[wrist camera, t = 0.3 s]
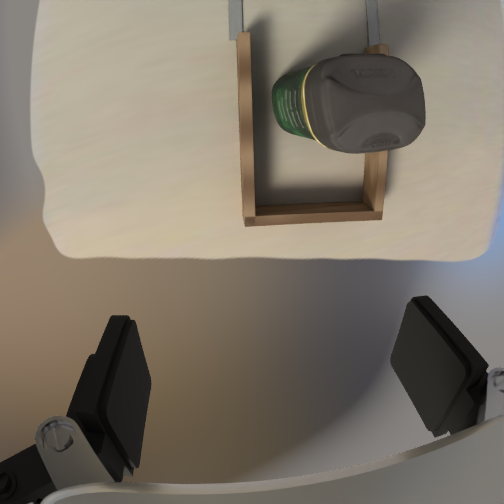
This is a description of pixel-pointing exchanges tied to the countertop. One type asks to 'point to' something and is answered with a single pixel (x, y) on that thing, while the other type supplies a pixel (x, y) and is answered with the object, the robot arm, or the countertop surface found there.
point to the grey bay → (236, 20)
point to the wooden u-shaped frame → (311, 211)
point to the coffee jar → (352, 103)
